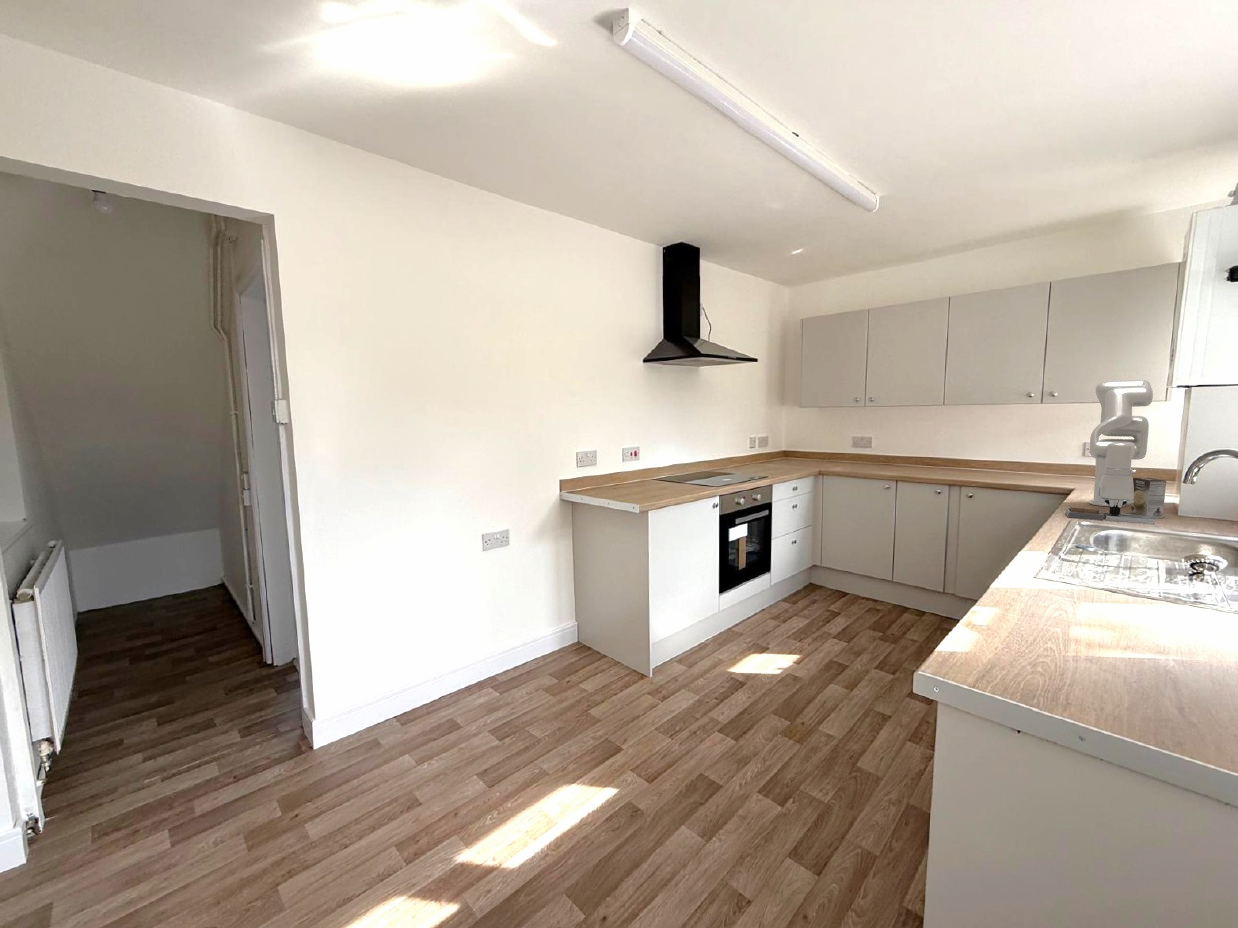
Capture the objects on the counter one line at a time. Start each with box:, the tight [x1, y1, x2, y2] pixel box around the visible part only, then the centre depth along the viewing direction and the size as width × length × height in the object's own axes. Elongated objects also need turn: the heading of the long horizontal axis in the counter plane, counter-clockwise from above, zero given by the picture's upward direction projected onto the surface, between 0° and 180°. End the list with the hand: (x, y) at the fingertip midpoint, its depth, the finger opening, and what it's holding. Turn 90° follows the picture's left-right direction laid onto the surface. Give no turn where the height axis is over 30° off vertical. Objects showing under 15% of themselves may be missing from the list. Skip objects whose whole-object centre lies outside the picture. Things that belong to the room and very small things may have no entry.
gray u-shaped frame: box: [1064, 507, 1104, 521], centre depth 216 cm, size 12×11×2 cm
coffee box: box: [1129, 477, 1167, 519], centre depth 215 cm, size 9×6×16 cm
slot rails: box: [1101, 511, 1156, 525], centre depth 208 cm, size 10×14×2 cm
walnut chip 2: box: [1082, 506, 1098, 514], centre depth 215 cm, size 4×4×4 cm
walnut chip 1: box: [1069, 505, 1084, 513], centre depth 217 cm, size 4×4×4 cm
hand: (1114, 515), depth 210 cm, fingers closed
